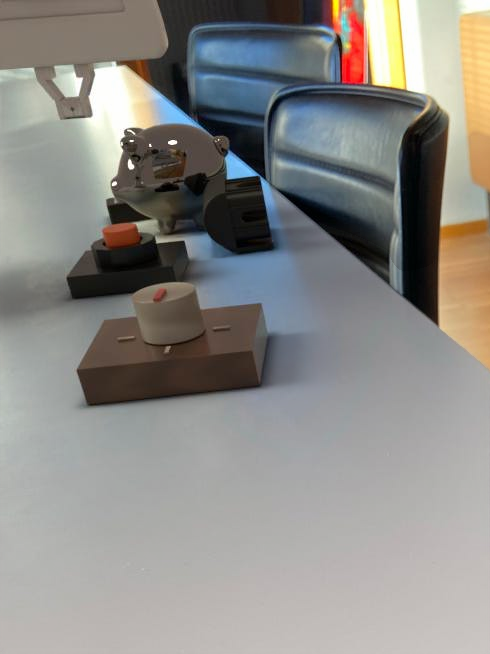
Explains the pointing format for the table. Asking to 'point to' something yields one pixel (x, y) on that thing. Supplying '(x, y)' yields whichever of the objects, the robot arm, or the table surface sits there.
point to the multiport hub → (122, 212)
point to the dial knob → (168, 313)
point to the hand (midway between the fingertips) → (76, 118)
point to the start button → (121, 234)
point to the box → (127, 267)
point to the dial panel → (175, 358)
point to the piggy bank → (168, 171)
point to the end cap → (236, 214)
